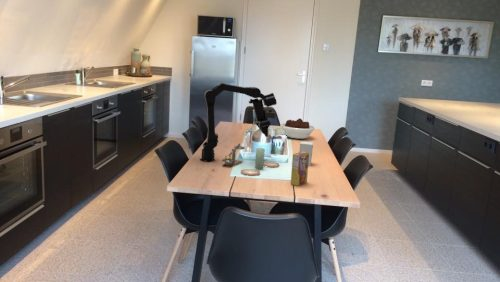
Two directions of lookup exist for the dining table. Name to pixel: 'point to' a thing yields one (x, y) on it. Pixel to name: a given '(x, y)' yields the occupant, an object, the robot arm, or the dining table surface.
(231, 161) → the balance
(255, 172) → the dish
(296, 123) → the bowl with brown lumps
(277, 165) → the dish
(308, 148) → the supplement box
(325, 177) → the dining table surface
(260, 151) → the grey green cylinder
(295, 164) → the candy box
